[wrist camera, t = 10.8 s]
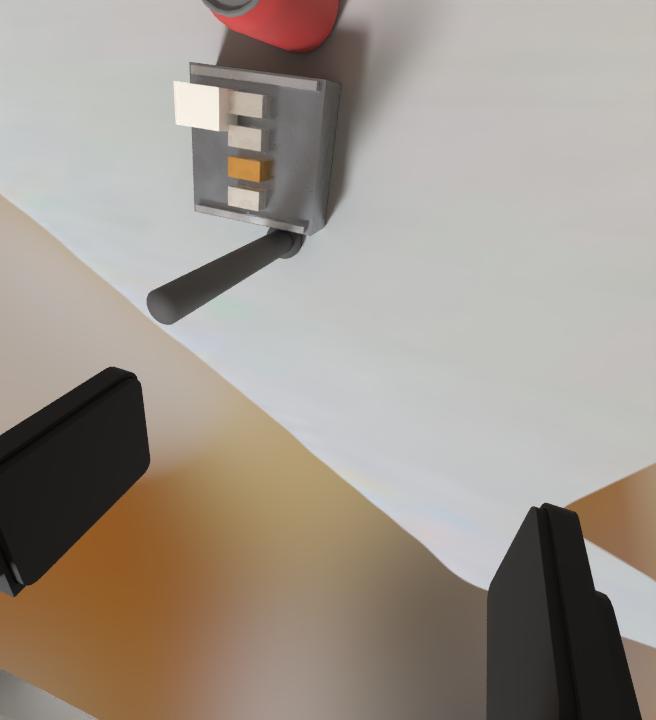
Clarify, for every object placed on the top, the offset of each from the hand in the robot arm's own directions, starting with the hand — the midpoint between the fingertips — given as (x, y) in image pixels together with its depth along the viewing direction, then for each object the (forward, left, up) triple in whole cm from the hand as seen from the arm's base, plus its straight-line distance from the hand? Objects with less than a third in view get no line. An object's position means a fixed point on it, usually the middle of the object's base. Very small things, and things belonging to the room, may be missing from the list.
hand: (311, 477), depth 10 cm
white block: (+20, -6, -30) cm, 37 cm away
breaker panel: (+17, -3, -34) cm, 38 cm away
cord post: (+15, +5, -34) cm, 38 cm away
